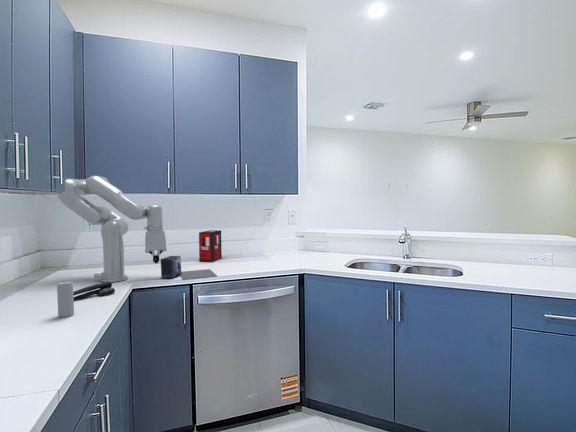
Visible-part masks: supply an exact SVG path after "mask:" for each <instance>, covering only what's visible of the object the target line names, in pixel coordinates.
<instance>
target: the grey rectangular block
mask: <svg viewBox="0 0 576 432" xmlns="http://www.w3.org/2000/svg"><path fill="white" fill-rule="evenodd" d="M73 292H74V283H73V281H71V280H70V281H69V280H67V281H60V282H58V283H57V285H56V297H57V298H56V299H57V316H58V318H70V317H72V316H73V315H74V314H75V303H74V302H75V301H74V297H75V295H74V296H73Z"/></svg>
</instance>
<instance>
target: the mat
mask: <svg viewBox="0 0 576 432" xmlns="http://www.w3.org/2000/svg"><path fill="white" fill-rule="evenodd" d="M179 276H180V277H181V279H182V281H184V280H185V281H186V280H195V279H204V278H205V279H207V278H216V277H218V275H217V274H216V273H215V272H214V271H213V270H211V268H209V269H207V268H206V269H195V270H186V271H185V270H183V271H181V275H179Z"/></svg>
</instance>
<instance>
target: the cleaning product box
mask: <svg viewBox="0 0 576 432" xmlns="http://www.w3.org/2000/svg"><path fill="white" fill-rule="evenodd" d="M198 253H199V254H198V255H199V258H198V259H199V260H198V261H199V263H210V264H211V263H214V262H216V261H220V260H221V259H222V256H223V255H222V230H215V229H214V230H212V229H211V230H205V231H204V230H203V231H199V232H198Z"/></svg>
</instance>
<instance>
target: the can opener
mask: <svg viewBox="0 0 576 432" xmlns="http://www.w3.org/2000/svg"><path fill="white" fill-rule="evenodd" d="M112 286H113V282H100V283H98V282H97V283H95V284H93V285H88V286H86V287H82V288H80V289H77V290H73V296H74V302H75V301H79V300H83V299H86V298H88V297H91V296H94V295H97V296H98V297H99V296H100V297H106V296H107V297H108V296H109V295H112V294H115V291H116V289H115V288H114V287H112Z"/></svg>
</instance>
